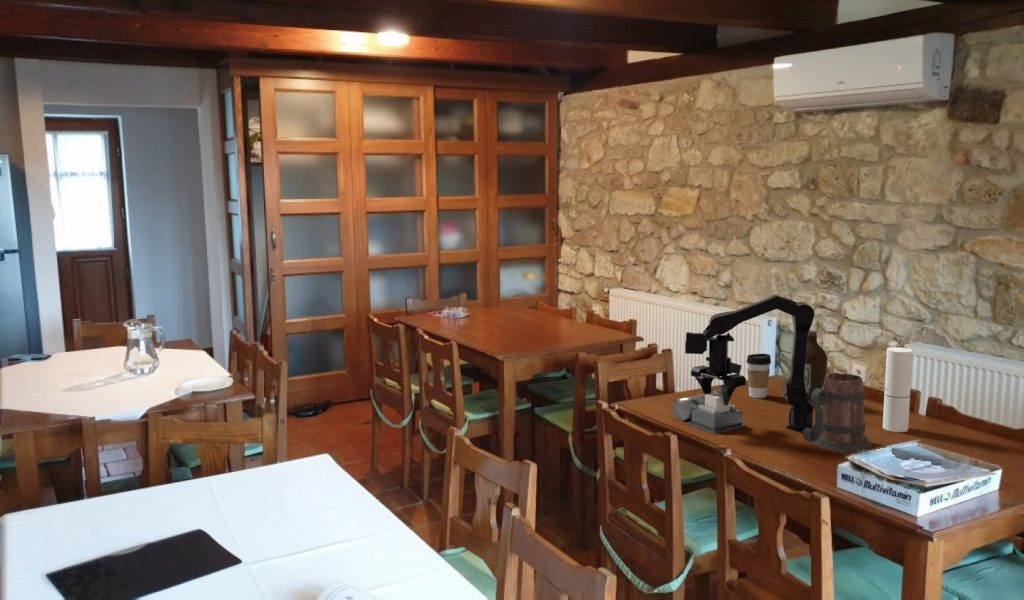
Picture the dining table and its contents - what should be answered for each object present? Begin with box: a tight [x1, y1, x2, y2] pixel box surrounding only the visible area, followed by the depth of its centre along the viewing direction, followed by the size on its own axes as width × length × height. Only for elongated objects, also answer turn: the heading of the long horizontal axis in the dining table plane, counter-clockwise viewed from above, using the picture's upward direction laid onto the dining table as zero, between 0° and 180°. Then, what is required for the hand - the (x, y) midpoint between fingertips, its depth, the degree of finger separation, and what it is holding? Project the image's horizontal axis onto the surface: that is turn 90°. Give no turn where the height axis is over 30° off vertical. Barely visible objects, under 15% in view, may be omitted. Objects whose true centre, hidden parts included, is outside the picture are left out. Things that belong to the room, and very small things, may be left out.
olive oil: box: [804, 330, 828, 405], centre depth 279 cm, size 11×11×25 cm
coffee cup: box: [746, 353, 772, 399], centre depth 288 cm, size 8×8×15 cm
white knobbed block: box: [705, 388, 731, 413], centre depth 255 cm, size 5×6×6 cm
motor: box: [672, 393, 748, 435], centre depth 259 cm, size 20×14×7 cm
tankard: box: [802, 372, 872, 453], centre depth 235 cm, size 24×17×20 cm
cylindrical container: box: [882, 346, 914, 433], centre depth 248 cm, size 7×7×25 cm
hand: (717, 402), depth 255 cm, fingers open, 7 cm apart
